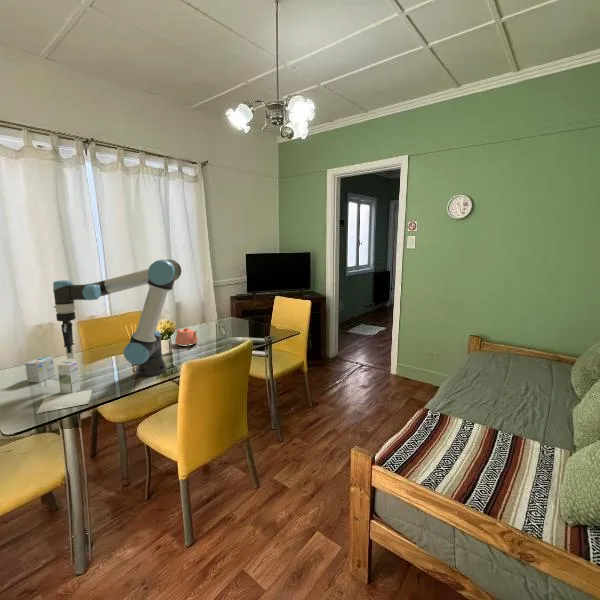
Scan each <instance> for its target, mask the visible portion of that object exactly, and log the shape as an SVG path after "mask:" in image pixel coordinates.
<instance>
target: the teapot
mask: <svg viewBox="0 0 600 600" xmlns="http://www.w3.org/2000/svg"><path fill="white" fill-rule="evenodd" d="M197 332H198V330H193V329H189V327H184V328H183V329H177V330H176V337H175V339H174V341H175V342H174V343H175V344H176V343H177V344H181V345H189V344H194V343H196V342H197V343H198V342H199V339H198V335H197ZM197 343H196V344H197ZM177 344H176V345H177Z"/></svg>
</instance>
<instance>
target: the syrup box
mask: <svg viewBox="0 0 600 600" xmlns="http://www.w3.org/2000/svg"><path fill="white" fill-rule="evenodd" d="M78 368H79V367H78V361H77V360H70V361H69V360H68V361H67V360H65V361H62V362H60V363H58V364H57V372H58V380H59V381H58V382H59V388H60V395H64V394H70V393H76V392H77V391H78V392H79V390H80V389H81V384H80V377H79V369H78Z"/></svg>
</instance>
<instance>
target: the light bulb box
mask: <svg viewBox="0 0 600 600" xmlns="http://www.w3.org/2000/svg"><path fill="white" fill-rule="evenodd" d="M24 366H25V371H26V379H27V383H28V382H37V383H36V384H40V382H41V383H42V381H43V382H45V381H47V380H49V379H51V378H53V377H55V376H56V370H55V369H56V367H55V362H54V356H40V357H38V358H35V359H33V360H31V361H28V362H25V363H24ZM54 375H55V376H54ZM52 376H53V377H52ZM50 377H51V378H50ZM48 378H49V379H48ZM46 379H47V380H46ZM44 380H45V381H44Z"/></svg>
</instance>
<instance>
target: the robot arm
mask: <svg viewBox="0 0 600 600" xmlns="http://www.w3.org/2000/svg"><path fill="white" fill-rule="evenodd" d="M181 275H182V267H181V265H180V264H179V263H178V262H177V261H176V260H174V259H158V260H155V261H154V262H152V263H151V264H150V266H149V267H148V268H146V269H143V270H140V271H139V270H138V271H136V272H135V271H134V272H131V273H127V274H124V275H120V276H116V277H112V278H107V279H105V280H100V281H97V282H93V283H92V282H91V283H86V284H73V281H72V280H55V281H54V282H53V283H52V284H53V285H52V286H53V289H52V291H53V295H54V296H53V297H54V306H53V308H54V309H55V312H56V315H55V316H56V321H58V322H62V324H61V332H62V337H63V343H64V345H63V348H65V353H66V354H65V355H66V360H72V359H74V358H75V353H74V345H75V343H74V340H73V339H74V336H73V323H72V322H71V321H74V320H76V312H75V310H76V308H75V306H76V305H75V301H97V300H99V299H100V298H101V297H104V296H107V295H111V294H114V293H118V292H122V291H126V290H129V289H134V288H136V287H137V288H138V287H141V286H146V285H148V291H147V294H146V298H145V301H144V303H143V304H144V305H143V308H142V311H141V315H140V317H139V321H138V324H137V328H136V330H135V331H134V332H132V333H131V336H130V339H129V342H128V344H126V345H125V347H124V350H123V356H124V359H126V361H127V362H128V363H130V364H133V365H137V366H136V375H137V376H138V375H139V376H138V377H153V376H158V375H161V374H164V373H165V372H166V371H167V364H166V363H165V360H164V358H163V352H162V351H163V350H162V334H161V332H160V331H159V330H157V328H158V324H159V321H160V319H161V318H160V317H161V314H162V312H163V309H164V305H165V302H166V297H167V295H168V293H169V292H170V291H172V290H173V288H174V284H175V281H177V280H178V279H179V278H180V277H181ZM165 370H166V371H165ZM164 371H165V372H164Z"/></svg>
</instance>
